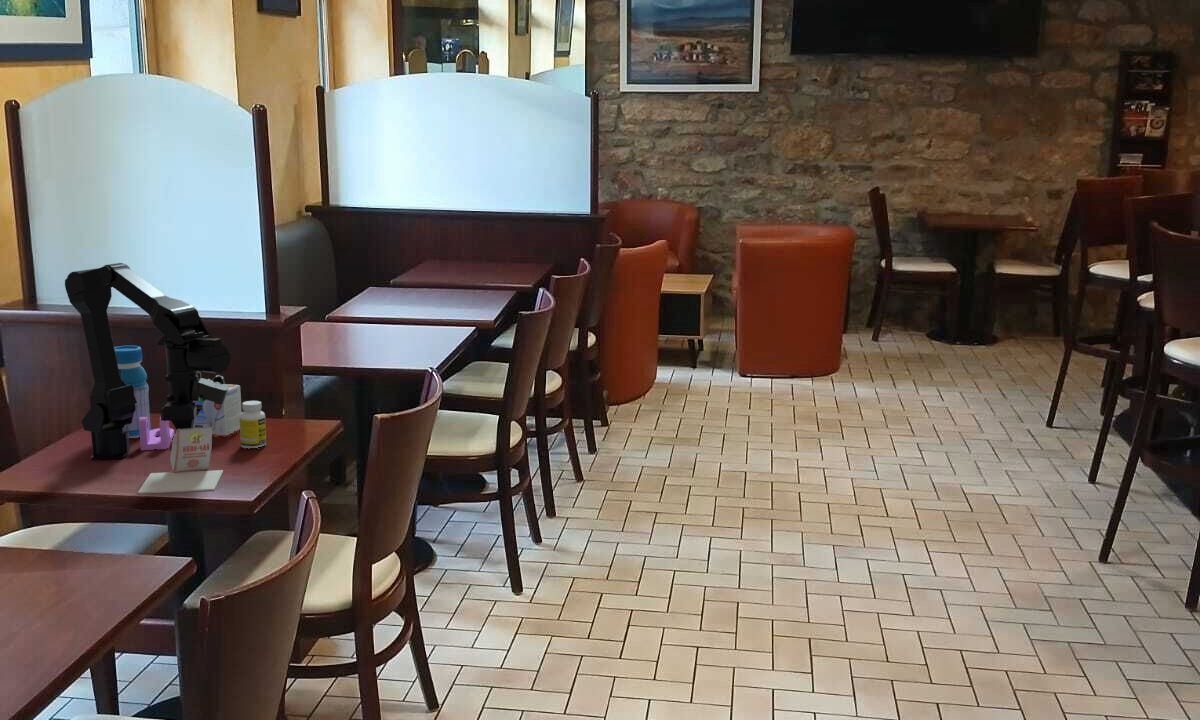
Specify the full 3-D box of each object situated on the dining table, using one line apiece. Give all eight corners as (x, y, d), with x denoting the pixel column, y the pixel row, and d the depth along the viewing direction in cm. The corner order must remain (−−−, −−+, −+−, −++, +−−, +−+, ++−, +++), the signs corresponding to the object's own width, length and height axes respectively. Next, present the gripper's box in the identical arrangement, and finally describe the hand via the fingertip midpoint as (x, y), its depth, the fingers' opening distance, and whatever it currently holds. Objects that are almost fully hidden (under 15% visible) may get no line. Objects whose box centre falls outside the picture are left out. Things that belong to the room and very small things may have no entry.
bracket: (168, 449, 248) (166, 418, 247) (141, 450, 247) (138, 419, 246) (175, 433, 261) (173, 403, 259) (149, 434, 260) (147, 404, 258)
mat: (138, 493, 219) (137, 492, 219) (150, 474, 231) (150, 473, 231) (214, 490, 222) (214, 488, 221) (223, 471, 233) (223, 470, 233)
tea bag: (170, 460, 233) (175, 423, 227) (204, 457, 236) (210, 421, 231) (173, 472, 230) (178, 435, 225) (208, 469, 234) (214, 433, 229)
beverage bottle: (143, 440, 255) (136, 352, 250) (105, 439, 255) (97, 351, 250) (157, 429, 263) (151, 344, 259) (120, 429, 263) (114, 344, 259)
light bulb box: (185, 433, 260) (182, 387, 258) (204, 426, 267) (201, 381, 264) (226, 438, 257) (223, 391, 255) (244, 430, 264) (241, 384, 261)
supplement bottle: (262, 449, 248) (260, 405, 246) (237, 449, 248) (235, 405, 246) (269, 442, 254) (267, 399, 252) (245, 442, 254) (242, 399, 252)
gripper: (217, 377, 222) (222, 454, 225) (230, 357, 240) (234, 429, 243) (157, 379, 220) (163, 457, 223) (174, 359, 238) (179, 431, 241)
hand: (187, 443), depth 233 cm, fingers closed
